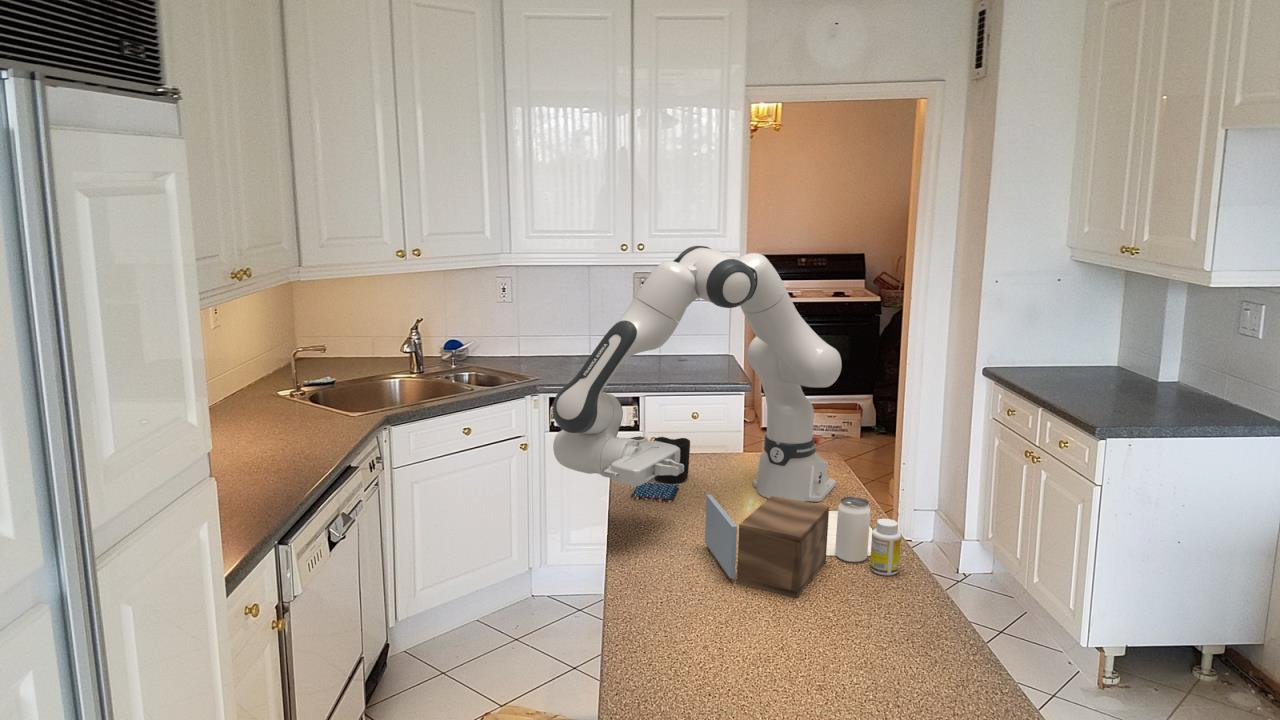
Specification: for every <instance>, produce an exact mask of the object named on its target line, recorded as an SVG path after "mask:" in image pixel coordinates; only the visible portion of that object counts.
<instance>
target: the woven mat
mask: <svg viewBox="0 0 1280 720" xmlns="http://www.w3.org/2000/svg"><path fill="white" fill-rule="evenodd" d="M679 486H680V485H679V483H677V484H667V483H662V482H650V481H647V482H645V483H644V484H642V485H640V486H635V489H634V490H633V492H632V493H631V495H630V498H631V501H634V500H636V501H641V502H643V501H645V502H648V501H649V502H653V501H654V502H655V503H657V502H659V503H663V504H665V503H666V502H668V503H669V504H671V503H672V502H674V501H675V498H676V497H677V495H678V494H677V493H678V491H680V487H679Z"/></svg>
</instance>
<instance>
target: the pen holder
mask: <svg viewBox="0 0 1280 720" xmlns="http://www.w3.org/2000/svg"><path fill="white" fill-rule="evenodd" d="M652 441H659V442H663V443H668V444H672V445H675V446H677V447H679V448H680V462H679V464H683V465H684V472H682V473H680V474H679V475H677V476H674V475H657V476H656V477H654V478H653V479H655V481H657V482H658V483H661V484H662V483H663V484H665V483H666V484H668V485H669V484H670V485H671V484H673V485H674V484H675V485H677V484H682V483H684V482H687V480H688V478H689V477H688V476H689V469H690V468H689V465H690V451H691V449H690V448H691V440H690V439H689V438H686V437H680V438H676V439H673V438H669V437H664V436H658V437H655V438H653V440H652Z"/></svg>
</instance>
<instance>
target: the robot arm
mask: <svg viewBox="0 0 1280 720" xmlns="http://www.w3.org/2000/svg"><path fill="white" fill-rule="evenodd" d="M698 299H702V300H704V301H707V302H710V303H712V304H714V306H717V307H719V308H726V309H732V308H733V309H734V308H737V307H740V309H741V311H742V312H743V315H744V316H745V318H746V320H747V323H748V324H749V326H750V328H751V330H752V332H753V334H754V335H755V337H754V338H753V339H752V340H751V342H750V344H749V345H748V349H747V360H748V364H749V366H750V367H751V368H752V370H753V371H754V372H755V374H756V376H757V377H758V379H759V381H760V384H761V386H762V390H763V393H764V397H765V401H766V434H765V436H764V440H763V445H764V446H763V451H764V452H763V453H761V455H760V456H759V461H758V469H757V476H756V479H754V480H753V481H752V486H753V487H755V488H756V491H757V494H759V495H760V496H762V497H764V498H766V499H769V498H770V497H771V496H776V497H782V498H787V499H792V500H798V501H803V502H813V503H814V502H819V503H820V502H822V501H823V500H824V499H825V498H826V497H827V496H828V495H829V493H830V492H831V491H832V490H833V489H834V488H836V487H835V486H836V485H837V480H835V479H834V478H832V477H829V476H828V463H827V462H826V460H825V459H823V458H822V457H821V456H820V455H819V453H817V452H816V451H817V450H816V445H819V444H820V442H821V437H820V436H819V435H814V434H813V433H814V432H813V431H814V418H815V410H814V406H813V404H812V402H811V401H810V400H809V399H808V397H806V394H805V393H804V392H803V388H802V387H808V388H829V387H831V386H832V385H833V384H834V383H835V382H836V381H837V380H838V378H839V376H840V374H841V372H842V366H843V365H842V358H841V354H840V352H839V351H838V350H837V348H835V347H833V346H832V345H830V344H829V343H827V342H826V341H825V340H824V339H822V338H821V337H820V336H819V334H817V333H816V332H815V331H814V330H813V329H812V328H811V326H810V325H809V324H808V323H807V322H806V321H805V319H804V318H803V317H802V316H801V314H800V313H799V312H798V310H797V308H796V306H795V304H794V303H793V300H792V298H791V296H790V294H789V292H788V291H787V288H786V285H785V284H784V282H783V280H782V279H781V277H780V274H779V273H778V271H777V270H776V268H775V267H774V266H773V264H772V263H771V262H770V259H768V258H767V257H766V256H765V255H764V254H761V253H758V252H750V253H747V254H743V255H742V256H739V257H738V258H737V259H736V258H735V257H733V256H731V255H729V254H728V253H725V252H723V251H719V250H715V249H712V248H710V247H709V246H706V245H694V246H690V247H688V248H686V249H685V250H683V251H682V252H681V253H680V254H678V256H677V257H676V258H674V259H673V260H672V261H671V260H669V261H668V260H667V261H662V262H661V263H659V264H658V265H657V266H656V267H655V268H654V269H653V271H652V272H651V273H650V274H649V276H648V277H647V278H646V280H645V281H644V282H643V284H642V285H641V286H640V288H639V290H638V292H637V293H636V295H635V297H634V298H633V300H632V302H631V303H630V304H629V306H628V308H627V309H626V311H625V312H624V314H623V315H622V317H620V318H619V320H618V321H616V323H615V324H614V325H612V327H610V329H609V330H608V331H607V333H606V334H605V335H604V336H603V338H602V339H601V340H600V341H599V343H598V345H597V346H596V347H595V349H593V352H592V353H591V355H590V356H589V357H588V358H587V360H586V362H585V363H584V364H583V366H582V367H581V368H580V370H578V371H579V372H578V373H577V374H576V375H575V377H573V379H572V380H570V381H569V382H568V383H567V384H565V386H563V387H562V388H561V389H560V390H559V391H558V392H557V394H556V395H555V398H554V400H553V405H552V414H553V418H554V420H555V423H556V424H557V426H558V428H560V429H561V430H560V431H558V433H557V434H555V437H554V439H553V455H554V457H555V458H554V459H556V461H557V462H558V464H559V465H561V466H562V467H564V468H567V469H569V470H573V471H576V472H580V473H584V474H590V475H591V474H593V475H594V474H598V475H600V476H602V477H603V478H608V479H610V480H612V481H613V482H616V483H618V484H622V485H626V486H629V487H630V486H631V487H637V486H640V485H642V484H644V483H645V482H646V483H647V482H650V481H651V480H652V479H655V478H654V477H656V476H657V475H674V476H677V475H679V474H680V473H682V472H684V465H683V464H679V462H680V448H679V447H677V446H675V445H672V444H668V443H663V442H659V441H653V440H648V437H647V436H642V435H641V436H635V437H617V436H618V434H619V430H620V427H621V424H622V420H623V415H624V414H623V413H624V412H623V411H624V410H623V407H622V404H621V402H620V400H619V399H618V398H617V396H615V395H613V394H610V393H609V392H605V391H604V389H605V387H606V386H607V385H608V384H609V382H610V381H611V380H612V378H613V376H614V375H615V373H616V372H617V370H618V369H619V368H620V367H621V365H622V363H624V362H625V361H626V360H627V359H629V358H630V357H632V356H634V355H636V354H641V353H643V352H647V351H652V350H653V351H654V350H657V349H659V348H661V347H663V345H664V344H665V343H666V342H668V340H669V339H670V338H671V336H672V335H673V333H674V332H675V331H676V329H677V327H678V325H679V324H680V322H681V320H682V318H683V316H684V314H685V313H686V311H687V308H688V307H689V306H690V305H691V304H692V303H693V302H694V301H696V300H698Z"/></svg>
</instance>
